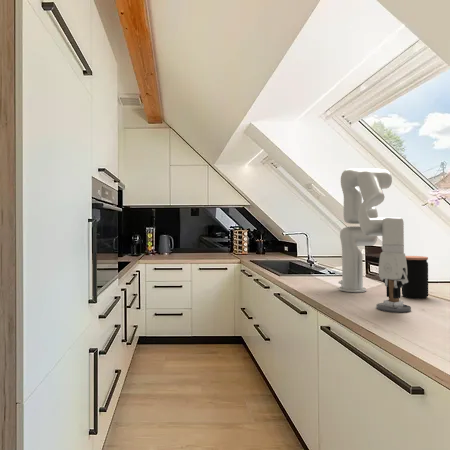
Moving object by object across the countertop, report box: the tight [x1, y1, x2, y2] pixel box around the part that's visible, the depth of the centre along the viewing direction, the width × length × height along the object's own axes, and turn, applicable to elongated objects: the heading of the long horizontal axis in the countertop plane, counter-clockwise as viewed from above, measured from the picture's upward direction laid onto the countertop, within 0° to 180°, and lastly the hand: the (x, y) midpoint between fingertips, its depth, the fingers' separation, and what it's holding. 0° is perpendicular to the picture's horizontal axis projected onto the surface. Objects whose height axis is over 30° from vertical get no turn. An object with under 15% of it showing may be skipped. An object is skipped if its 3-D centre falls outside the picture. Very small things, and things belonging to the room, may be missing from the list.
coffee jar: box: [401, 255, 429, 300], centre depth 164 cm, size 11×11×18 cm
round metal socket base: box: [376, 299, 412, 314], centre depth 140 cm, size 12×12×3 cm
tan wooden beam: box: [388, 280, 400, 302], centre depth 140 cm, size 2×2×10 cm
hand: (393, 297), depth 140 cm, fingers closed on tan wooden beam, 2 cm apart
